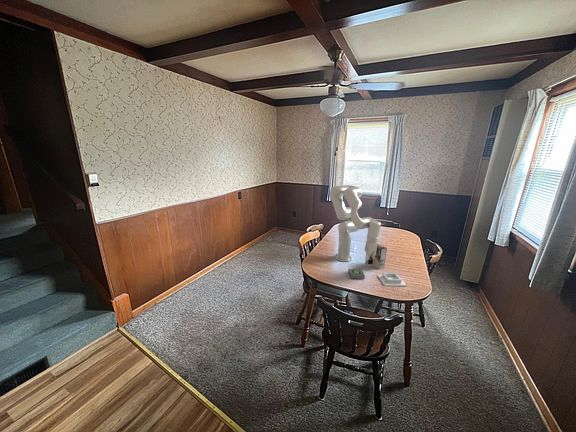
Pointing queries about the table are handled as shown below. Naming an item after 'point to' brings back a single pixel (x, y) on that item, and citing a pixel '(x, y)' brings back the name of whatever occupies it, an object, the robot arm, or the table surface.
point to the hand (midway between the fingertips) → (368, 261)
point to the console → (356, 276)
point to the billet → (367, 260)
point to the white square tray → (391, 279)
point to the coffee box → (380, 257)
